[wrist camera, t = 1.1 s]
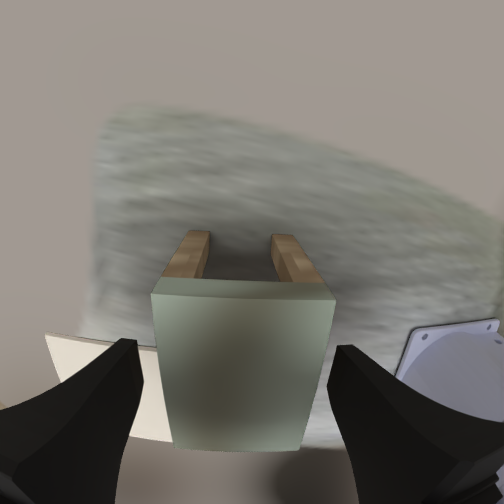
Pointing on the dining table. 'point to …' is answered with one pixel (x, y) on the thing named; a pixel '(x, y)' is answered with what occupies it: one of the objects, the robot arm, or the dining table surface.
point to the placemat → (152, 400)
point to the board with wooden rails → (240, 349)
